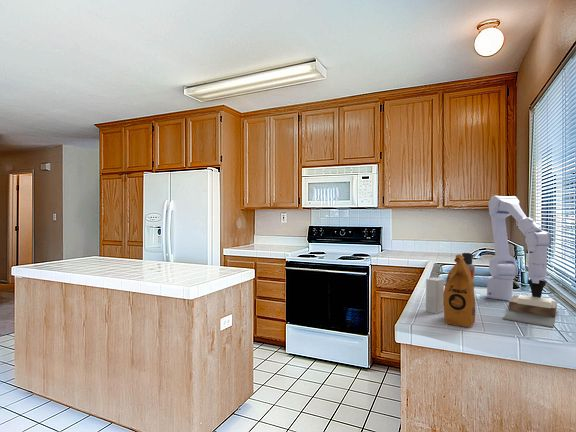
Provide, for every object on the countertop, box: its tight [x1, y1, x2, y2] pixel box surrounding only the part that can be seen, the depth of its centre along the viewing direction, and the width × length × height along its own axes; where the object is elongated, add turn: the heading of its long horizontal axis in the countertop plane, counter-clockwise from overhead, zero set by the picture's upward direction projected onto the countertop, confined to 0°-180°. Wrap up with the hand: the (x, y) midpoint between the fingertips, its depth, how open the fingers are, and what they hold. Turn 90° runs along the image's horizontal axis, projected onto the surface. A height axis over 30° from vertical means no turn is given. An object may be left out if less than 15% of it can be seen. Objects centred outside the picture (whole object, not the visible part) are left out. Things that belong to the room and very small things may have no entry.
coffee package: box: [443, 254, 476, 328], centre depth 121 cm, size 10×12×22 cm
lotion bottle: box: [461, 252, 476, 288], centre depth 151 cm, size 6×6×20 cm
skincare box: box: [425, 277, 445, 315], centre depth 133 cm, size 6×4×12 cm
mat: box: [502, 309, 556, 329], centre depth 126 cm, size 14×14×1 cm
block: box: [517, 294, 553, 308], centre depth 133 cm, size 10×7×2 cm
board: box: [508, 295, 558, 318], centre depth 137 cm, size 14×13×4 cm
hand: (536, 299), depth 137 cm, fingers closed
